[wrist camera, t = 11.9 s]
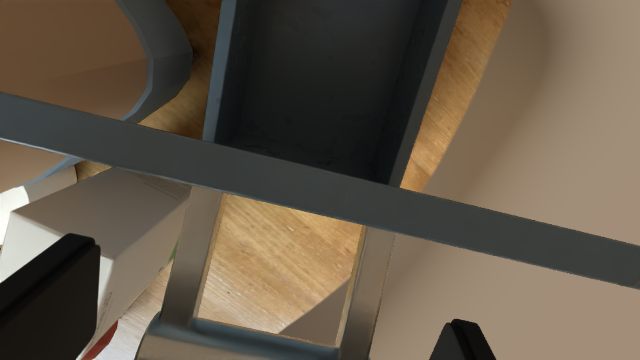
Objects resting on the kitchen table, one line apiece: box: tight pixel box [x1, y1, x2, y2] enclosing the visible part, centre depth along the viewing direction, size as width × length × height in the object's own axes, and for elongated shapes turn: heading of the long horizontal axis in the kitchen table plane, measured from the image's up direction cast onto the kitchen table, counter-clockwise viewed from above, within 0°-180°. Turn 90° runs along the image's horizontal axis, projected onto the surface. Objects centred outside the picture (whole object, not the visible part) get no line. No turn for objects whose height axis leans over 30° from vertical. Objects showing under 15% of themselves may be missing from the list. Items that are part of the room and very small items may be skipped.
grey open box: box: [202, 0, 463, 188], centre depth 28 cm, size 19×14×9 cm
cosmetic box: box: [0, 167, 192, 360], centre depth 29 cm, size 8×7×16 cm
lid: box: [0, 91, 640, 360], centre depth 16 cm, size 20×14×6 cm
